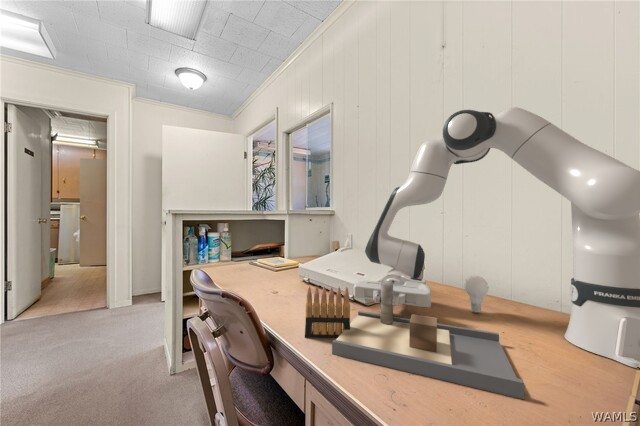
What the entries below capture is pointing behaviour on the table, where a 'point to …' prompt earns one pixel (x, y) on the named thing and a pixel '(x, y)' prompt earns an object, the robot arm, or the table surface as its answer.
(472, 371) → the rail base
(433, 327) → the walnut block
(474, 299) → the lightbulb
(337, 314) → the ammunition clip
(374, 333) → the sliding platform with post
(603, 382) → the table surface
